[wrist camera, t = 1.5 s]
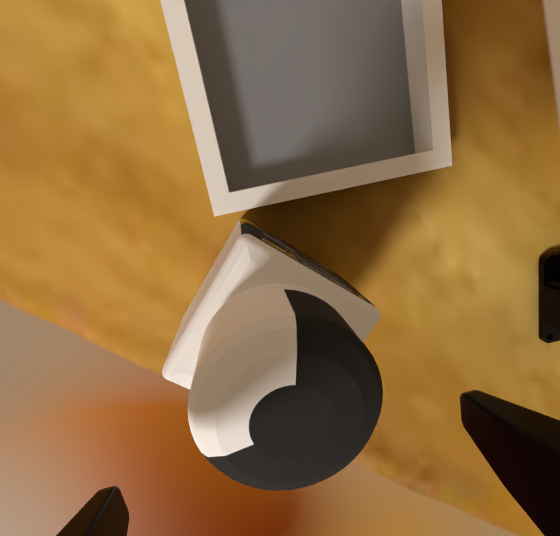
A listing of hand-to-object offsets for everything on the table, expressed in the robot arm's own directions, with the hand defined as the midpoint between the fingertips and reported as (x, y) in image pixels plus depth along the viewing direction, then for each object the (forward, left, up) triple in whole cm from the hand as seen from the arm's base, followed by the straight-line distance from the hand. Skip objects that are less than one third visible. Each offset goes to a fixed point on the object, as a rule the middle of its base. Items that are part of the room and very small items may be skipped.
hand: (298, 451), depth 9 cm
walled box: (-5, -12, -13) cm, 18 cm away
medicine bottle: (0, 0, -13) cm, 13 cm away
